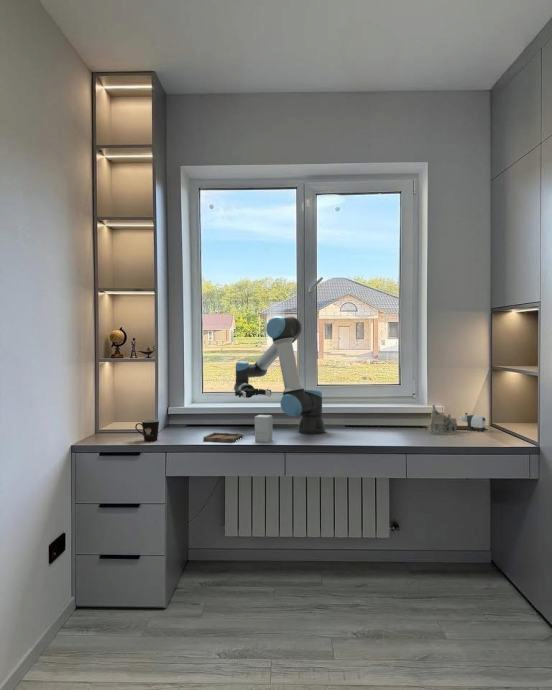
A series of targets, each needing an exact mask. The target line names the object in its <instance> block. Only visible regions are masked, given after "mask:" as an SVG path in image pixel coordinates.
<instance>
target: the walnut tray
mask: <svg viewBox="0 0 552 690" xmlns="http://www.w3.org/2000/svg"><path fill="white" fill-rule="evenodd" d="M242 437H243V438H244V434H243V433H233V432H217V431H216V432H213V433H209V434H208V435H205V436H203V442H209V441H211V442H212V443H228V442H234V443H236V442H237V441H236V440H238V439H239V440H241V439H243V438H242ZM240 438H241V439H240ZM239 440H238V441H239ZM235 441H236V442H235Z"/></svg>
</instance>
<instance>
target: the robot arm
mask: <svg viewBox="0 0 552 690" xmlns="http://www.w3.org/2000/svg"><path fill="white" fill-rule="evenodd" d="M265 328H266V329H265V331H266V334H267V336H269V338H270V339H272V344H271V345H270V346H269V347H268V349H266V350H265V351H264V352H263V353H262V355H261V356H260V357H259V358H258V360H256V362H254V363H253V364H249V362H248V361H237V362H236V364H235V369H234V371H235V383H234V386H233V390H234V395H235V397H238V398H244V399H245V398H246V399H247V398H248V399H249V398H252V397H253V396H259V395H263V396H265V397H272V390H271V389H268V388H267V389H263V388H255V387H254V386H253V385H252V384H249V380H250V378H262V377H264V376H266V375H267V373H268V369H269V367H270V366H271V365H272V364H273V363H274V362H275V361H276V359H277V358H278V360H279V366H280V371H281V376H282V377H281V378H282V380H283V386H284V387H283V388H284V390H283V391H282V397H281V399H280V409H281V411H282V412H283V413H284V414H286V415H287V416H289V417H298V416H300V420H299V422H298V425H297V426H298V427H297V432H298V433H300V434H307V435H308V434H309V435H313V434H317V435H319V434H324V433H326V426H325V423H324V419H323V393H322V391H320V390H314V389H313V390H311V389H305V387H303V386H302V385H301V383H300V382H301V381H300V377H299V372H298V367H297V362H296V355H295V351H294V345H293V343H295V342H296V341H297V340H298V338H299V337H300V335H301V333H302V323H301V321H300V320H299V319H298V318H297V317H294V316H283V315H282V316H281V315H278V316H273V317H271V318H270V319H269V320H268V322H267V323H266V327H265Z"/></svg>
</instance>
